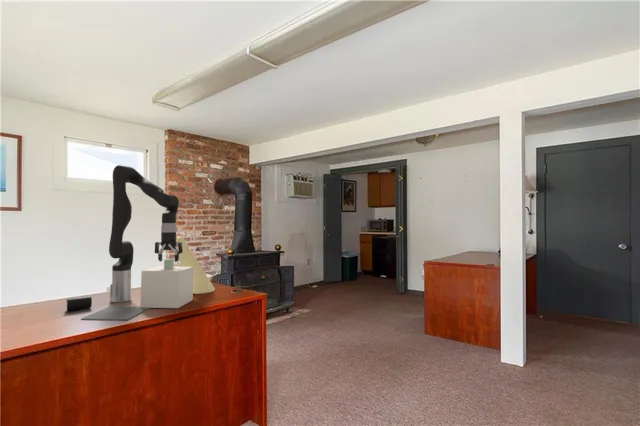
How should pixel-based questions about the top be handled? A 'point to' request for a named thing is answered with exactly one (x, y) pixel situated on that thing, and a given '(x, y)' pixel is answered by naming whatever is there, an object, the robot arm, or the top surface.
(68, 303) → the end cap
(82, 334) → the top surface
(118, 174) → the robot arm
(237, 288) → the top surface
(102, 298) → the top surface
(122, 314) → the mat
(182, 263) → the cone light
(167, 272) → the cover
